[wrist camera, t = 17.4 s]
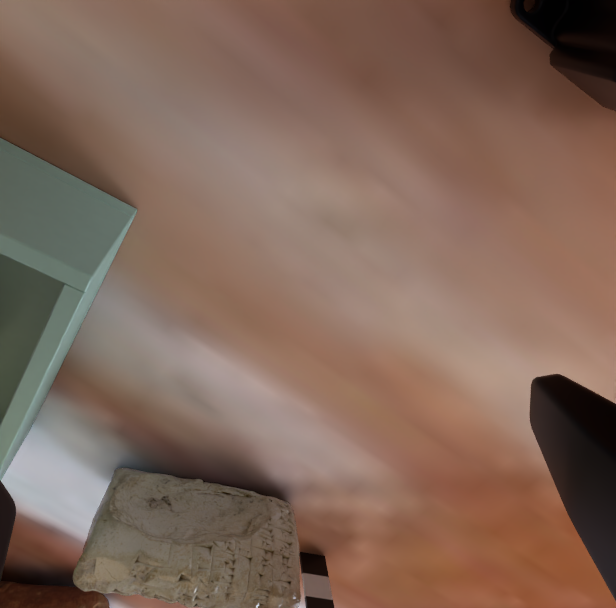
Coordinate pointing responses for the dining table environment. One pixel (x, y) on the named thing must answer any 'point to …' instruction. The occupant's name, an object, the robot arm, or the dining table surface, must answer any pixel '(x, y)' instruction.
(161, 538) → the cuneiform tablet
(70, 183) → the bin
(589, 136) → the dining table surface
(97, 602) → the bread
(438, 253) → the dining table surface
